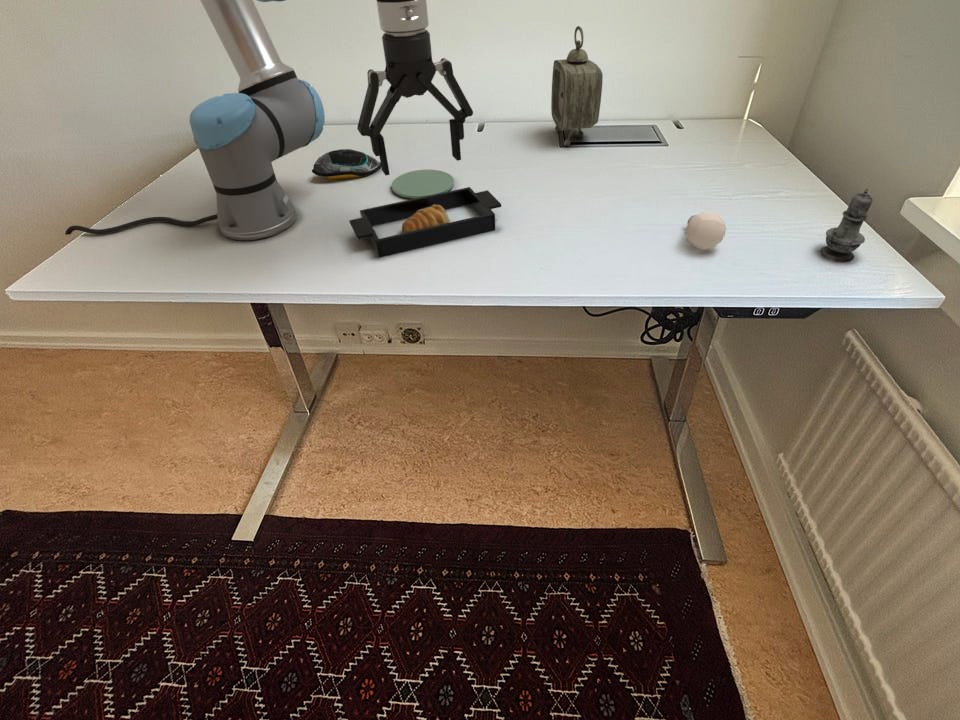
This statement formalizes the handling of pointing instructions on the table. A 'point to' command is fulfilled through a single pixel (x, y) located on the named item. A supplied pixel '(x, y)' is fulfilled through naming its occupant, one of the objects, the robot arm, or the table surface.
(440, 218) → the pastry
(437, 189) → the plate
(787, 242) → the table surface
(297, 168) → the table surface
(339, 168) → the black domed oval piece
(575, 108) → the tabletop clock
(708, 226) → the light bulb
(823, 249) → the grey chess piece
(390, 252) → the pan
